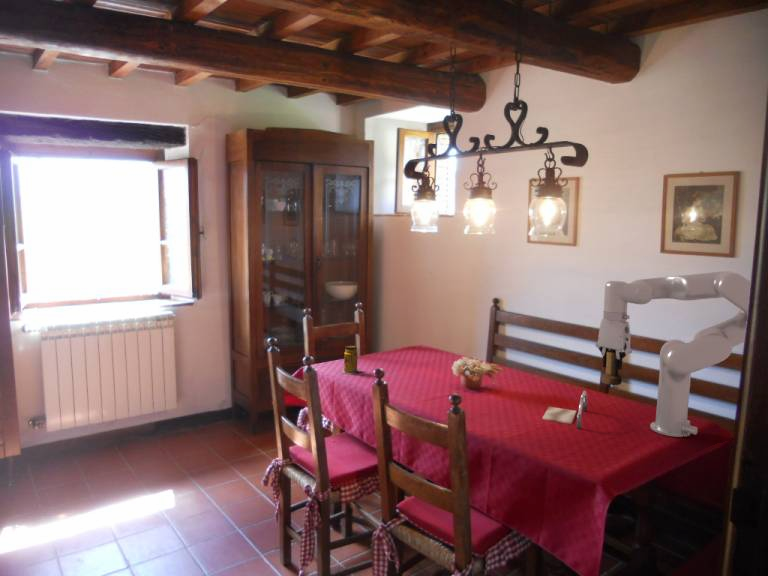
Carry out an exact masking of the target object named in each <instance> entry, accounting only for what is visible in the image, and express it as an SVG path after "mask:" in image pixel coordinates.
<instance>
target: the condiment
mask: <svg viewBox="0 0 768 576" xmlns="http://www.w3.org/2000/svg"><path fill="white" fill-rule="evenodd" d="M357 351H358V350H357V346H356V345H346V346H345V351H344V354H343V356H344V357H343V358H344V363H343V364H344V365H343V367H344V368H343V370H342V371H341V370H340V372H341V373H344V374H348V375H349V376H350V375H354V374H359V373H363V372H364V370H360V369H358V352H357ZM359 370H360V372H359ZM357 372H358V373H357Z"/></svg>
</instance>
